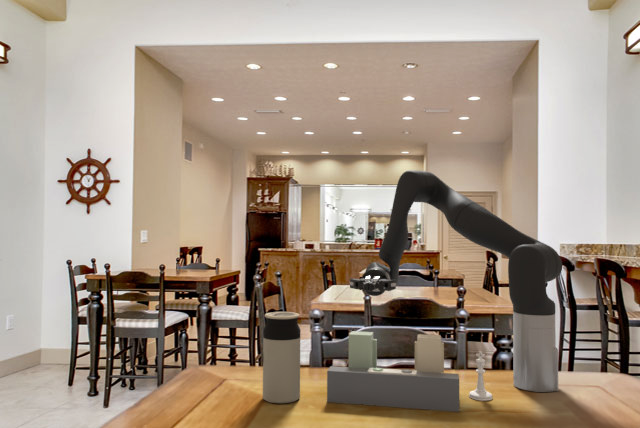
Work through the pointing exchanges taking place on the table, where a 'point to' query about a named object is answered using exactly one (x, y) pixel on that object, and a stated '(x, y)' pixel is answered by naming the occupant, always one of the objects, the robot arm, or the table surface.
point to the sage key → (362, 350)
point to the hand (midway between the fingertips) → (368, 287)
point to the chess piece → (480, 382)
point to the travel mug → (281, 358)
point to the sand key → (429, 353)
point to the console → (393, 388)
